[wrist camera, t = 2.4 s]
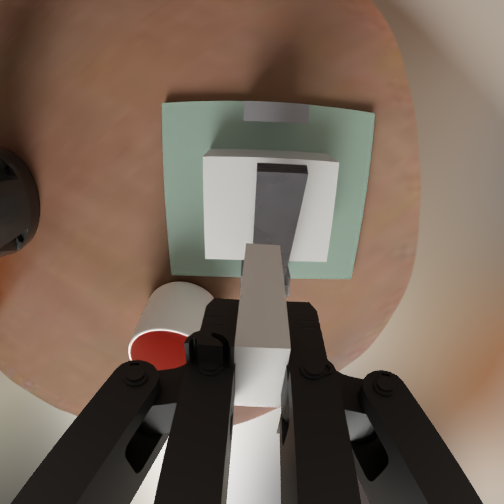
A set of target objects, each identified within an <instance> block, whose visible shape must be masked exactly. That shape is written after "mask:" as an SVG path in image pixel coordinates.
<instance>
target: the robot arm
mask: <svg viewBox="0 0 504 504" xmlns="http://www.w3.org/2000/svg"><path fill="white" fill-rule="evenodd" d="M39 212H40V209H39V198H38V193H37V189H36V185H35V183H34V180H33V178H32V175H31V173H30V171H29V170H28V168H27V167H26V165H25V164H24V162H23V161H22V160H21V159H20V158H19V157H18V156H17V155H15V154H14V153H12V152H10V151H8V150H5V149H0V257H2V256H6V255H10V254H13V253H15V252H17V251H19V250H20V249H22V248H23V247H24V246H25V245H26V244H28V243H29V242H30V241H31V239H32V238H33V237H34V235H35V233H36V230H37V227H38V222H39ZM184 347H185V356H186V364H184V365H182V366H180V367H177V368H173V369H166V370H157V369H156V368H155V366H154V365H152V364H151V363H149V362H147V361H142V360H132V361H128V362H126V363H123V364H121V365H120V366H119V367H118V368H117V369H116V370H115V371H114V372H113V373H112V375H111V376H110V377H109V378H108V379H107V381H106V382H105V383H104V384H103V386H102V387H101V388H100V389H99V390H98V392H97V393H96V394H95V395H94V397H93V398H92V399H91V400H90V402H89V403H88V404H87V405H86V407H85V408H84V409H83V410H82V412H81V413H80V414H79V415H78V417H77V418H76V419H75V420H74V422H73V423H72V424H71V425H70V427H69V428H68V429H67V430H66V432H65V433H64V434H63V436H62V437H61V438H60V439H59V441H58V442H57V443H56V445H55V446H54V447H53V449H52V450H51V451H50V452H49V454H48V455H47V456H46V458H45V459H44V460H43V461H42V463H41V464H40V465H39V467H38V468H37V469H36V471H35V472H34V473H33V475H32V476H31V477H30V478H29V480H28V481H27V482H26V484H25V485H24V487H23V488H22V489H21V491H20V492H19V493H18V495H17V496H16V497H15V499H14V500H13V501H12V503H11V504H130V503H131V501H132V499H133V497H134V496H135V494H136V492H137V491H138V489H139V487H140V485H141V484H142V481H143V480H144V478H145V477H146V475H147V473H148V471H149V470H150V468H151V466H152V464H153V463H154V461H155V459H156V457H157V456H158V454H159V452H160V450H161V449H162V447H163V445H164V443H165V441H166V440H167V438H168V436H169V438H168V442H167V447H166V451H165V455H164V459H163V464H162V468H161V473H160V477H159V482H158V486H157V491H156V496H155V501H154V504H226V499H227V487H228V476H229V464H230V452H231V440H232V427H233V409H234V405H237V406H253V407H280V404H281V409H282V410H281V417H280V422H279V426H278V430H277V433H280V465H281V504H361V500H360V493H359V487H358V481H357V476H358V479H359V481H360V483H361V485H362V487H363V489H364V492H365V494H366V496H367V498H368V500H369V502H370V504H483V503H482V501H481V500H480V498H479V496H478V495H477V493H476V491H475V490H474V488H473V486H472V485H471V483H470V482H469V480H468V478H467V477H466V475H465V474H464V472H463V471H462V469H461V467H460V466H459V464H458V463H457V461H456V459H455V458H454V456H453V455H452V453H451V452H450V450H449V449H448V447H447V445H446V444H445V443H444V441H443V440H442V438H441V436H440V435H439V433H438V432H437V430H436V429H435V427H434V426H433V425H432V423H431V421H430V420H429V419H428V417H427V416H426V414H425V413H424V411H423V410H422V408H421V407H420V405H419V404H418V402H417V401H416V399H415V398H414V397H413V395H412V394H411V392H410V391H409V389H408V388H407V387H406V385H405V384H404V382H403V381H402V380H401V379H400V378H399V377H398V376H397V375H395V374H392V373H391V372H388V371H383V370H380V371H373V372H371V373H369V374H368V375H367V376H366V377H365V378H364V379H359V378H354V377H350V376H347V375H343V374H341V373H340V372H338V371H336V369H335V367H334V365H333V364H332V363H331V362H329V361H328V359H327V355H326V351H325V346H324V342H323V337H322V332H321V330H320V323H319V319H318V315H317V311H316V310H315V308H314V307H313V306H312V305H311V304H310V303H309V302H287V301H286V295H285V286H284V276H283V267H282V258H281V250H280V245H267V244H250V243H246V249H245V257H244V266H243V275H242V283H241V292H240V300H234V299H219V298H214V299H213V300H212V301H211V302H210V303H209V304H208V305H207V306H206V309H205V313H204V317H203V320H202V325H201V328H200V331H197V332H194V333H192V334H191V335H190V336H188V337H187V339H186V340H185V342H184Z"/></svg>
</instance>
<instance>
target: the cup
mask: <svg viewBox="0 0 504 504" xmlns="http://www.w3.org/2000/svg"><path fill="white" fill-rule="evenodd" d="M213 299H214V297H213V296H212V295H211V294H210V293H209V292H208V291H206V290H205V289H203V288H202V287H200V286H198V285H195V284H192V283H188V282H171V283H167V284H164V285H162V286H160V287H159V288H157V289H156V290H155V291H154V292H153V293H152V294H151V296H150V298H149V300H148V302H147V304H146V306H145V309H144V311H143V313H142V315H141V318H140V320H139V322H138V324H137V327H136V329H135V331H134V334H133V336H132V338H131V341H130V343H129V347H128V354H129V358H130V360H131V361H132V360H142V361H147V362H149V363H151V364H152V365H154V366H155V368H156V369H157V370H166V369H173V368H177V367H180V366H182V365H184V364H186V356H185V347H184V342H185V340H186V339H187V337H188V336H190V335H191V334H192V333H194V332H197V331H200V328H201V325H202V320H203V317H204V313H205V309H206V306H207V305H208V304H209V303H210V302H211V301H212V300H213Z"/></svg>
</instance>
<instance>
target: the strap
mask: <svg viewBox="0 0 504 504" xmlns="http://www.w3.org/2000/svg"><path fill="white" fill-rule="evenodd" d="M307 178H308V169H307V165H296V164H277V163H257V174H256V193H255V211H254V230H253V244H267V245H280V250H281V258H282V267H283V276H284V278H285V274H286V270H287V266H288V262H289V258H290V253H291V249H292V245H293V241H294V236H295V232H296V228H297V223H298V219H299V214H300V210H301V206H302V201H303V196H304V192H305V187H306V183H307ZM284 286H285V295H286V297H288V285H284Z"/></svg>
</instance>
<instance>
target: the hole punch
mask: <svg viewBox="0 0 504 504" xmlns="http://www.w3.org/2000/svg"><path fill="white" fill-rule="evenodd" d="M374 120H375V113H370V112H364V111H357V110H350V109H343V108H335V107H326V106H317V105H309V104H298V103H284V102H266V101H191V102H171V103H162V140H163V170H164V190H165V207H166V221H167V233H168V245H169V256H170V266H171V275H185V276H213V277H241V283H242V275H243V266H244V257H245V249H246V243H250V244H253V230H254V211H255V193H256V174H257V163H277V164H296V165H307V169H308V178H307V183H306V187H305V192H304V196H303V201H302V206H301V210H300V214H299V219H298V223H297V228H296V232H295V236H294V241H293V245H292V249H291V253H290V258H289V262H288V266H287V270H286V274H285V278H284V285H288V295H289V286H290V278H295V279H351V276H352V271H353V267H354V261H355V256H356V251H357V246H358V240H359V235H360V229H361V223H362V217H363V211H364V204H365V198H366V191H367V184H368V176H369V168H370V160H371V151H372V141H373V131H374ZM240 292H241V290H240Z"/></svg>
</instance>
